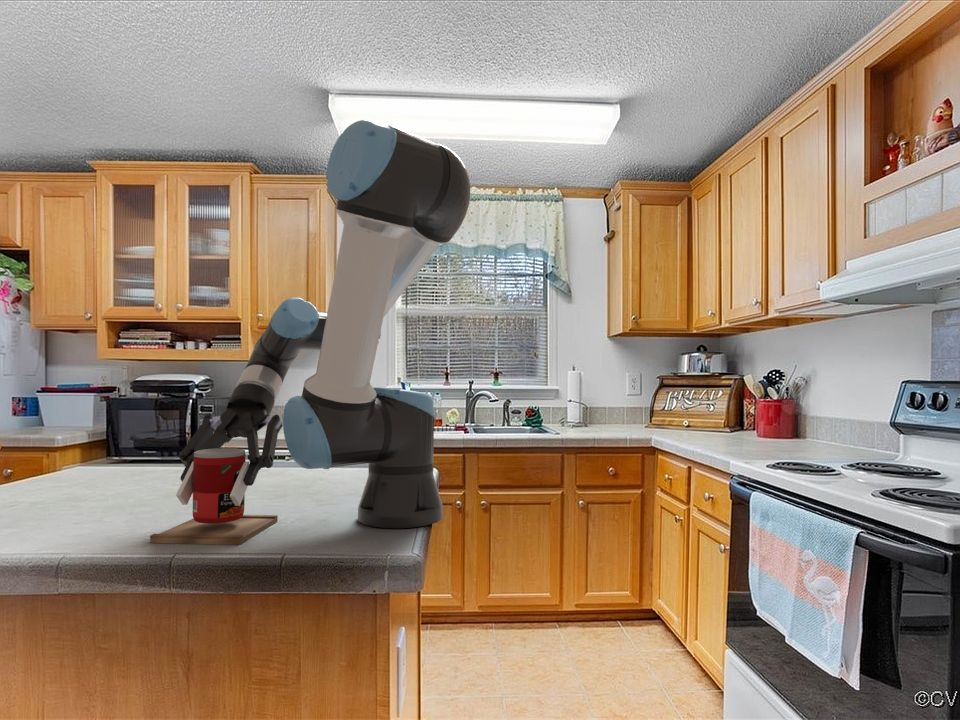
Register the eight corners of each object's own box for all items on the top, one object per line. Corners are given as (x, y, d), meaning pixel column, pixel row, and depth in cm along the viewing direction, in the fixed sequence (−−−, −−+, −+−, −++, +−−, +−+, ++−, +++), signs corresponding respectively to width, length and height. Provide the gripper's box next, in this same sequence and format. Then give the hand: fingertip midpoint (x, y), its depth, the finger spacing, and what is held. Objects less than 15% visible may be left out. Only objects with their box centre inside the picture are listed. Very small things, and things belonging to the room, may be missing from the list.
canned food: (225, 525, 90) (227, 454, 90) (180, 522, 91) (182, 453, 92) (254, 514, 97) (255, 448, 97) (212, 511, 99) (213, 447, 99)
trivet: (277, 521, 101) (277, 515, 101) (239, 544, 87) (239, 537, 87) (199, 520, 101) (199, 513, 101) (150, 542, 87) (150, 535, 87)
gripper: (314, 409, 109) (278, 514, 93) (208, 408, 110) (154, 512, 94) (304, 381, 104) (265, 487, 88) (193, 380, 105) (133, 485, 89)
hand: (208, 500), depth 91 cm, fingers closed on canned food, 8 cm apart
